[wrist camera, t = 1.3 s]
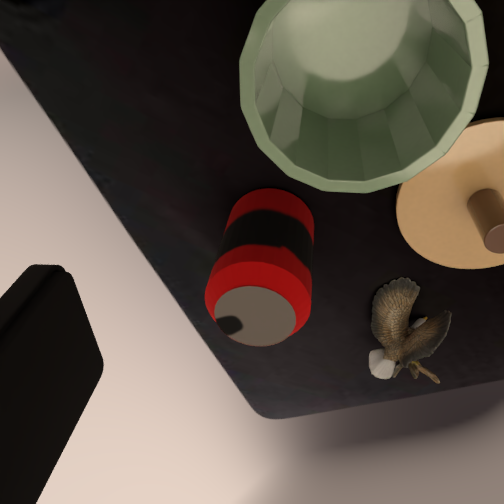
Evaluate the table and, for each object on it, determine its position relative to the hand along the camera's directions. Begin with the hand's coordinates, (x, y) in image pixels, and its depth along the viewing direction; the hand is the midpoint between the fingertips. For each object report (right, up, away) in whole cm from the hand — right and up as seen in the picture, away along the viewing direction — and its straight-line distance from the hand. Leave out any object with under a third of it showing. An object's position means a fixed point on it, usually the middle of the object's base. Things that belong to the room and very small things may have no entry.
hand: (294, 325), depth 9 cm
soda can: (+1, +4, +32) cm, 32 cm away
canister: (+6, +16, +22) cm, 28 cm away
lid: (+17, +6, +27) cm, 33 cm away
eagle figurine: (+14, -5, +36) cm, 39 cm away
